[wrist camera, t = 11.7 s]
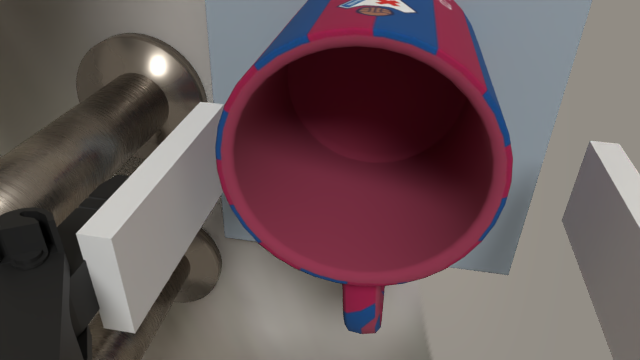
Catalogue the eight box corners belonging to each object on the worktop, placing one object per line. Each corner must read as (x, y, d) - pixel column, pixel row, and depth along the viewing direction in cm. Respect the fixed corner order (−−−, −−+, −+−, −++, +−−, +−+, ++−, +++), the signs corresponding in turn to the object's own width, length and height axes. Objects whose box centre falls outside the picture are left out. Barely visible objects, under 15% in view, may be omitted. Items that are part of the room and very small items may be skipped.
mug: (503, -20, 15) (556, 49, 9) (439, 242, 20) (447, 388, 15) (284, -42, 16) (207, 10, 10) (277, 217, 21) (224, 347, 15)
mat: (206, -69, 16) (199, -67, 16) (599, -46, 15) (605, -44, 14) (229, 229, 23) (224, 237, 22) (506, 265, 21) (508, 274, 21)
